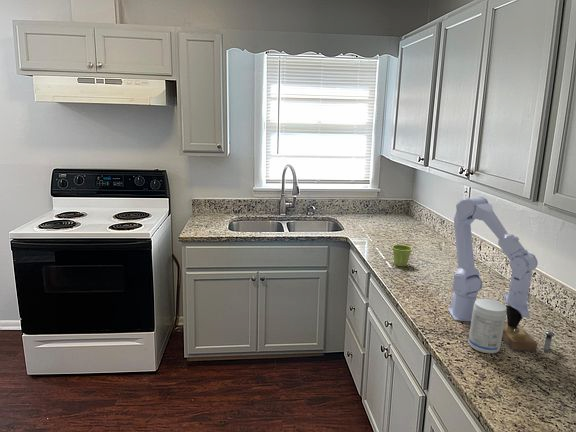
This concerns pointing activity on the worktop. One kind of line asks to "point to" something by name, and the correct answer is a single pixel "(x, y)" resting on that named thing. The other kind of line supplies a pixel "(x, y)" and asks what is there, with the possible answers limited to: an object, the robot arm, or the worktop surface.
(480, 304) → the supplement tub
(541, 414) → the worktop surface
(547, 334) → the lever
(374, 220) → the worktop surface
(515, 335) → the yellow rectangular block
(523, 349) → the body
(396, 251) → the plant pot
